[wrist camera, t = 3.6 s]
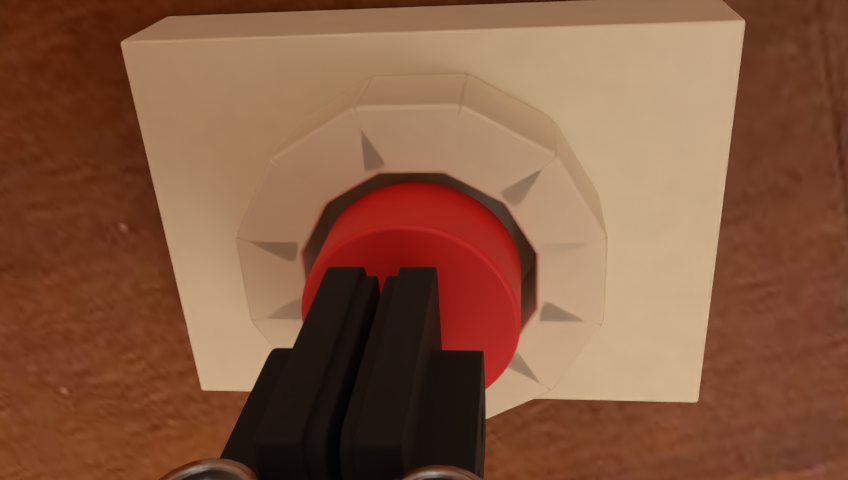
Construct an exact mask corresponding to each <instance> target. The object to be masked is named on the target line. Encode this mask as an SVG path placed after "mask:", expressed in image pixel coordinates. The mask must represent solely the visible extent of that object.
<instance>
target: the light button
mask: <svg viewBox="0 0 848 480" xmlns="http://www.w3.org/2000/svg"><path fill="white" fill-rule="evenodd" d="M328 267H364V268H365V270H366V274H367V276H377V277H378V280H379V286H380V296H381V293H382V290H383V286H384V283H385V279H386V277H387V276H398V273H399V269H400V267H436V269H437V275H438V289H439V306H440V323H441V340H442V350H480V351H484V362H485V390H486V389H487V388H488V387H489V386H491V385H492V384H493V383H494V382H495V381H496V380H497V379H498V378H499V377H500V376H501V374H502V373H503V372H504V371H505V370H506V368H507V367H508V365H509V363H510V362H511V360H512V358H513V356H514V353H515V351H516V349H517V345H518V341H519V337H520V327H521V265H520V259H519V255H518V251H517V248H516V246H515V243H514V241H513V239H512V237H511V235H510V234H509V232H508V230H507V229H506V227H505V226H504V225H503V223H502V222H501V221H500V219H499V218H498V217H497V216H496V215H495V214H494V213H493V212H492V211H491V210H490V209H488V208H487V207H486V206H484V205H483V204H482V203H481V202H479V201H478V200H476V199H474V198H472V197H471V196H469V195H467V194H465V193H463V192H461V191H458V190H456V189H453V188H450V187H447V186H443V185H439V184H433V183H424V182H408V183H398V184H393V185H388V186H385V187H382V188H379V189H376V190H374V191H372V192H370V193H367V194H365V195H363V196H362V197H360V198H359V199H357V200H356V201H354V202H353V203H352V204H351V205H350V206H349V207H347V208H346V209H345V210H344V211H343V212H342V214H341V215H340V216H339V217H338V219H337V220H336V221H335V223H334V225H333V226H332V228H331V230H330V232H329V234H328V236H327V238H326V240H325V242H324V244H323V246H322V249H321V251H320V253H319V255H318V257H317V259H316V261H315V263H314V265H313V267H312V269H311V271H310V274H309V276H308V278H307V281H306V283H305V286H304V291H303V295H302V305H301V312H302V322H304V320H305V318H306V316H307V313H308V311H309V309H310V306H311V304H312V302H313V299H314V297H315V295H316V292H317V290H318V288H319V286H320V283H321V281H322V279H323V276H324V274H325V272H326V270H327V268H328Z"/></svg>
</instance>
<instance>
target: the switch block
mask: <svg viewBox="0 0 848 480" xmlns="http://www.w3.org/2000/svg"><path fill="white" fill-rule="evenodd" d="M744 30H745V20H744V19H743V18H742V17H740V16H739V15H738V14H737V13H736V12H735V11H734V10H733V9H731V8H730V7H729V6H728V5H727V4H726V3H725V2H724V1H723V0H583V1H557V2H531V3H505V4H479V5H452V6H426V7H400V8H374V9H348V10H322V11H296V12H270V13H244V14H218V15H192V16H168V17H166V18H164V19H162V20H160V21H159V22H157V23H155V24H153V25H151V26H149V27H147V28H146V29H144V30H142V31H140V32H138V33H136V34H134V35H133V36H131V37H129V38H127V39H125V40H123V41H121V49H122V53H123V57H124V61H125V66H126V70H127V74H128V78H129V83H130V87H131V91H132V95H133V100H134V104H135V108H136V112H137V117H138V121H139V125H140V129H141V134H142V138H143V142H144V146H145V151H146V155H147V159H148V163H149V168H150V172H151V176H152V180H153V185H154V189H155V193H156V197H157V202H158V206H159V210H160V214H161V219H162V223H163V227H164V231H165V236H166V240H167V244H168V249H169V253H170V257H171V261H172V266H173V270H174V274H175V278H176V283H177V287H178V291H179V295H180V300H181V304H182V308H183V312H184V317H185V321H186V325H187V329H188V334H189V338H190V342H191V346H192V351H193V355H194V359H195V363H196V368H197V372H198V376H199V380H200V385H201V389H202V390H210V391H252V389H253V387H254V385H255V383H256V380H257V378H258V376H259V374H260V372H261V370H262V368H263V366H264V363H265V361H266V359H267V357H268V355H269V354H270V352H271V351H272V350H273V349H275V348H293V346H294V343H295V341H296V339H297V336H298V334H299V332H300V329H301V327H302V325H303V322H302V312H301V305H302V295H303V291H304V286H305V283H306V281H307V278H308V276H309V274H310V271H311V269H312V267H313V265H314V263H315V261H316V259H317V257H318V255H319V253H320V251H321V249H322V246H323V244H324V242H325V240H326V238H327V236H328V234H329V232H330V230H331V228H332V226H333V225H334V223H335V221H336V220H337V219H338V217H339V216H340V215H341V214H342V212H343V211H344V210H345V209H346V208H347V207H349V206H350V205H351V204H352V203H353V202H354V201H356V200H357V199H359V198H360V197H362V196H363V195H365V194H367V193H370V192H372V191H374V190H376V189H379V188H382V187H385V186H388V185H393V184H398V183H408V182H424V183H433V184H439V185H443V186H447V187H450V188H453V189H456V190H458V191H461V192H463V193H465V194H467V195H469V196H471V197H472V198H474V199H476V200H478V201H479V202H481V203H482V204H483V205H484V206H486V207H487V208H488V209H490V210H491V211H492V212H493V213H494V214H495V215H496V216H497V217H498V218H499V219H500V221H501V222H502V223H503V225H504V226H505V227H506V229H507V230H508V232H509V234H510V235H511V237H512V239H513V241H514V243H515V246H516V248H517V251H518V255H519V259H520V265H521V327H520V337H519V341H518V345H517V349H516V351H515V353H514V356H513V358H512V360H511V362H510V363H509V365H508V367H507V368H506V370H505V371H504V372H503V373H502V374H501V376H500V377H499V378H498V379H497V380H496V381H495V382H494V383H493V384H492V385H491V386H489V387H488V388H487V389H486V390H485V394H486V419H488V418H490V417H492V416H495V415H497V414H499V413H502V412H504V411H506V410H509V409H511V408H513V407H516V406H518V405H520V404H523V403H525V402H527V401H530V400H532V399H574V400H615V401H655V402H697V401H698V397H699V389H700V381H701V373H702V365H703V357H704V349H705V341H706V333H707V325H708V317H709V309H710V301H711V293H712V285H713V277H714V269H715V261H716V253H717V246H718V238H719V230H720V222H721V214H722V206H723V198H724V190H725V182H726V174H727V166H728V158H729V150H730V142H731V134H732V126H733V118H734V110H735V102H736V94H737V86H738V78H739V70H740V62H741V54H742V46H743V38H744Z"/></svg>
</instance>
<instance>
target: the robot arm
mask: <svg viewBox="0 0 848 480" xmlns="http://www.w3.org/2000/svg"><path fill="white" fill-rule="evenodd" d="M485 432H486V394H485V362H484V351H480V350H442V340H441V323H440V306H439V289H438V275H437V269H436V267H400V269H399V273H398V276H387V277H386V279H385V283H384V286H383V290H382V293H381V296H380V286H379V280H378V277H377V276H367V274H366V270H365V268H364V267H328V268H327V270H326V272H325V274H324V276H323V279H322V281H321V283H320V286H319V288H318V290H317V292H316V295H315V297H314V299H313V302H312V304H311V306H310V309H309V311H308V313H307V316H306V318H305V320H304V322H303V325H302V327H301V329H300V332H299V334H298V336H297V339H296V341H295V343H294V346H293V348H275V349H273V350H272V351H271V352H270V354H269V355H268V357H267V359H266V361H265V363H264V366H263V368H262V370H261V372H260V374H259V376H258V378H257V380H256V383H255V385H254V387H253V389H252V391H251V393H250V395H249V397H248V399H247V402H246V404H245V406H244V408H243V410H242V412H241V414H240V416H239V418H238V421H237V423H236V425H235V427H234V429H233V431H232V433H231V435H230V438H229V440H228V442H227V444H226V446H225V448H224V450H223V452H222V454H221V457H220V459H214V458H210V459H205V460H199V461H194V462H191V463H188V464H186V465H183V466H181V467H178V468H176V469H174V470H172V471H171V472H169V473H168V474H166V475H165V476H163V477H161V478H160V479H159V480H483V477H484V458H485Z"/></svg>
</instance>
